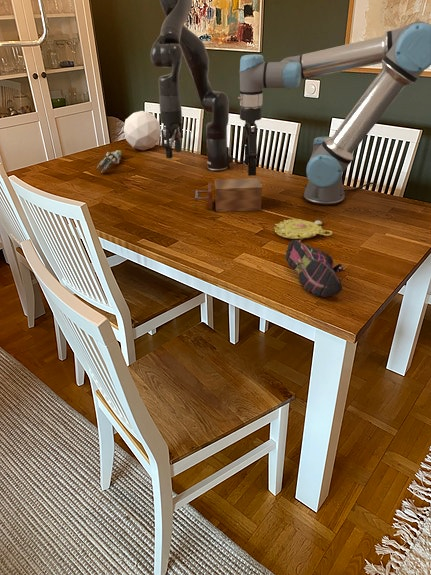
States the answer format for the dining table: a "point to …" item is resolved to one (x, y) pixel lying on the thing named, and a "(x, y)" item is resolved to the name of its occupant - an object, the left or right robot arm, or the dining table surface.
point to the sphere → (142, 130)
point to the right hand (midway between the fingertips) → (250, 169)
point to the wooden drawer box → (238, 194)
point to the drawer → (205, 197)
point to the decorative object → (300, 229)
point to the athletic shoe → (314, 269)
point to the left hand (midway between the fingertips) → (173, 154)
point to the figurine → (110, 160)
